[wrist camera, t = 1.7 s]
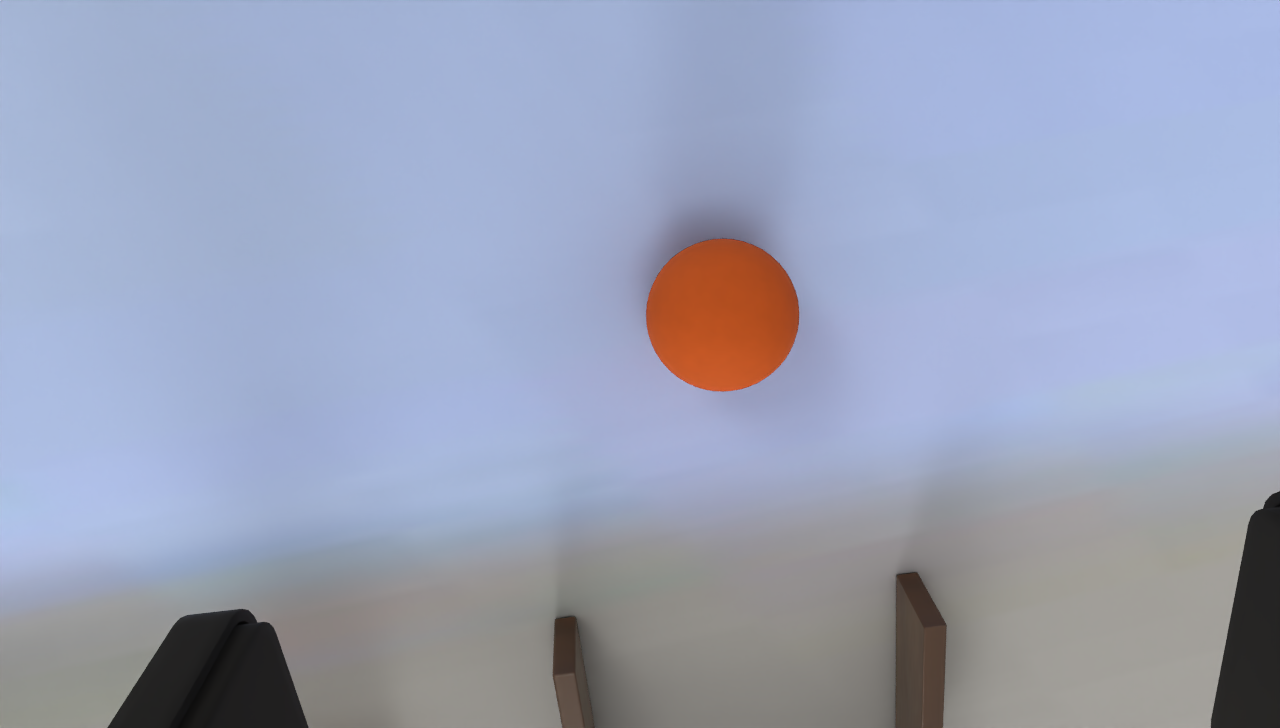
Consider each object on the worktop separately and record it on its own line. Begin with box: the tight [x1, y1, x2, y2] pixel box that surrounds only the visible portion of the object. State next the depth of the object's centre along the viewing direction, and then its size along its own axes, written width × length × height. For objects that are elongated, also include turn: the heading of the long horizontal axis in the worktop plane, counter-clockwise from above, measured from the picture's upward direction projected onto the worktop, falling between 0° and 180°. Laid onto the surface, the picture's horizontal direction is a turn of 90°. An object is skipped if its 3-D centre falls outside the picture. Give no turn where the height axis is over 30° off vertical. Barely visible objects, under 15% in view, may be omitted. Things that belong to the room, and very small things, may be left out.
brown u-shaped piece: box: [553, 573, 946, 728], centre depth 35 cm, size 14×10×3 cm
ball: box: [646, 239, 799, 391], centre depth 27 cm, size 4×4×4 cm
